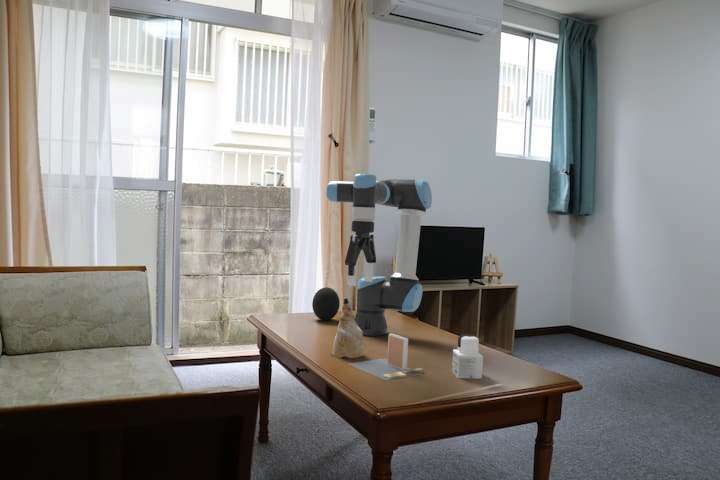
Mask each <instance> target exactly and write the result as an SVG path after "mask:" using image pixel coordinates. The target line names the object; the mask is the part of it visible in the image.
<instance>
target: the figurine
mask: <svg viewBox="0 0 720 480" xmlns="http://www.w3.org/2000/svg"><path fill="white" fill-rule="evenodd" d="M341 310H342V313H343V314H341V315H340V316H339V323H338V325H337V329H336V330H337V331H336V335H335V337H334V338H333V345H332V353H331V355H330V356H331V357H336V358H339V359H353V358H362V357H365V354H364V350H363V349H364V347H363V342H364V335H363V333H362V331H361V329H360V328H359V327H358V325H357V324H356V322H355V316H356V314H354V313H353V312H352V311H353V306H352V304H351V303H350V301H349V298H346V297H345V298H344V299H343V304H342V305H341Z"/></svg>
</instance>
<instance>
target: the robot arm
mask: <svg viewBox="0 0 720 480" xmlns="http://www.w3.org/2000/svg"><path fill="white" fill-rule="evenodd" d="M432 197H433V196H432V189H431V186H430V184H429V183H428V181H426V180H425V179H417V178H416V179H397V178H396V179H395V178H392V179H383V180H377V176H376V174H370V173H356V174H355V175H354V178H353V181H349V180H347V181H345V180H340V181H339V180H333V181H332V180H331V181H330V182H329V183H327V186H326V198H327V199H328V201H330V202H335V203H352V209H351V213H352V217H351V218H352V219H353V220H352V221H351V232H352V233H353V232H354V233H355V234H351V235H350V238H349V244H348V249H347V252H346V255H345V261H344V264H345V266H347V281H346V282H347V283H346V284H347V285H346V286H351V287H356V285H357V289H356V290H357V291H356V293H357V296H356V314H355V318H354V319H355V322H356V324H357V325H358V327H359V328H360V329H361V331H362V333H363V336H367V337H369V336H371V337H375V336H376V337H378V336H384V335H387V334H389V333H388V331H389V330H388V329H389V326H388V324H387V319H386V316H385V310H389V311H390V310H391V311H398V312H403V313H405V312H408V313H414V312H415V311H416V310H417V309H418V308H419V306H420V305H421V302H422V298H423V297H422V296H423V286H422V284H421V283H419V282H420V281H419V280H420V279H419V278H418V277H417V275H416V274H417V262H418V256H419V255H418V254H419V243H420V237H421V236H420V234H421V225H422V217H423V216H424V215H426V212H427V210H429V209H430V208H431V207H432V202H433V201H432V199H433V198H432ZM376 205H381V206H384V207H385V206H386V207H393V208H397V212H398V214H399V215H400V219H399V226H398V228H399V229H398V235H397V236H398V237H397V244H396V245H397V247H396V256H395V265H394V266H395V267H394V273H392V274H391V275H390V279H389V280H387V277H386V276H382V275H381V276H373V274H374V273H373V272H374V264H376V263H377V254H376V248H375V242H374V236H375V235H374V234H371V233H374V231H375V222H374V221H375V218H376V217H375V215H376ZM361 251H363V255H364V258H365V260H366V262H365V263H364V277H362V278H360V279H359V280H358V283H357V267H358V266H357V265H356V264H357V262H358V259H359V256H360V254H361Z"/></svg>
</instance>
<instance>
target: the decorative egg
mask: <svg viewBox="0 0 720 480" xmlns="http://www.w3.org/2000/svg"><path fill="white" fill-rule="evenodd" d="M311 302H312V303H311V305H312V311H313V313H314V315H315V316H316V317H317V319H320V320H322V321H330V320H333V318H335V316H337V314H338V312H339V310H340V304H341V303H340V302H341V301H340V297H339V295H338V293H337V291H336V290H334V289H333V288H331V287H321V288H320V289H318V290H317V292H316V293H315V294H314V296H313V299H312V301H311Z"/></svg>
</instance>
